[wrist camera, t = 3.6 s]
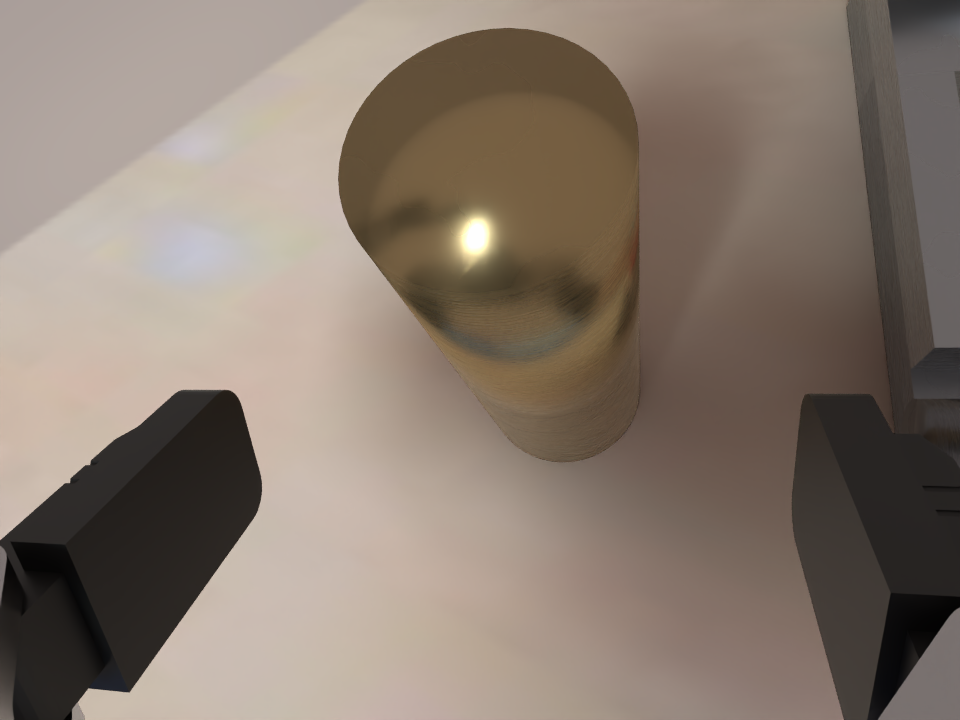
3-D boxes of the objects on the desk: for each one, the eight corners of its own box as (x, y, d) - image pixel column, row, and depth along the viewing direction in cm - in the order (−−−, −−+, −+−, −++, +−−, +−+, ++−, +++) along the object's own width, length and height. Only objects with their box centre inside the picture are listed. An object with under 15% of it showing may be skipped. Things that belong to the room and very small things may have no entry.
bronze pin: (486, 460, 20) (321, 297, 10) (493, 319, 21) (355, 42, 11) (640, 464, 19) (639, 289, 9) (639, 316, 20) (637, 14, 10)
